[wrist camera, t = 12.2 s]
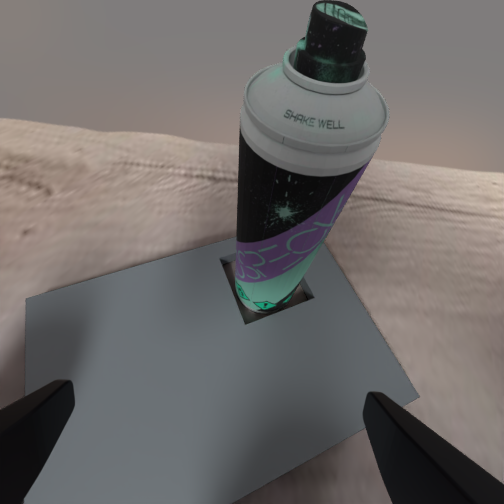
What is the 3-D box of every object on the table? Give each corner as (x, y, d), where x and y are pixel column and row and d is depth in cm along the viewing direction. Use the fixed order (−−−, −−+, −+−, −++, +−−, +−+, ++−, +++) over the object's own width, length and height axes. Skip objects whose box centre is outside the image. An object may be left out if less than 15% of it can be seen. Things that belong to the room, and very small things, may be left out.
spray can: (226, 271, 25) (214, -20, 8) (276, 253, 26) (361, -28, 9) (249, 324, 23) (307, 73, 5) (302, 300, 24) (486, 43, 7)
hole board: (408, 397, 21) (419, 396, 19) (41, 601, 14) (22, 622, 13) (303, 224, 29) (307, 215, 27) (37, 304, 22) (25, 298, 21)
